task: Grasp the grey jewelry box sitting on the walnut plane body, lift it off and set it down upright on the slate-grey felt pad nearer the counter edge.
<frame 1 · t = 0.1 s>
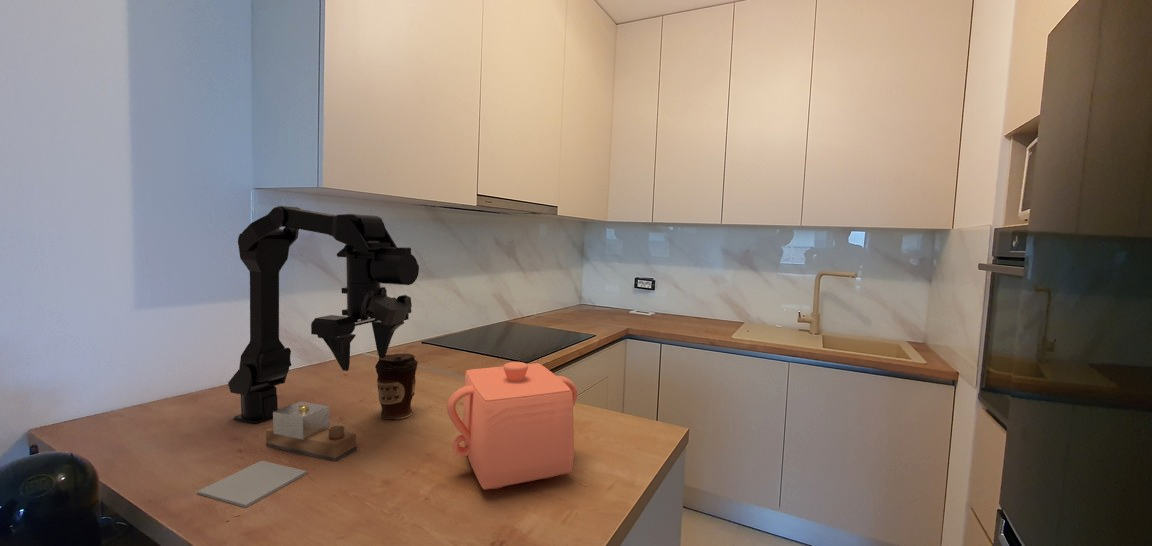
hand: (364, 363, 87), 15 cm above the worktop, fingers open, 9 cm apart
teapot: (509, 457, 82), on the worktop
plane body: (311, 447, 83), on the worktop
grey jewelry box: (302, 430, 84), point 3 cm above the worktop, touching plane body
coffee cup: (396, 416, 99), on the worktop
felt pad: (254, 483, 71), on the worktop
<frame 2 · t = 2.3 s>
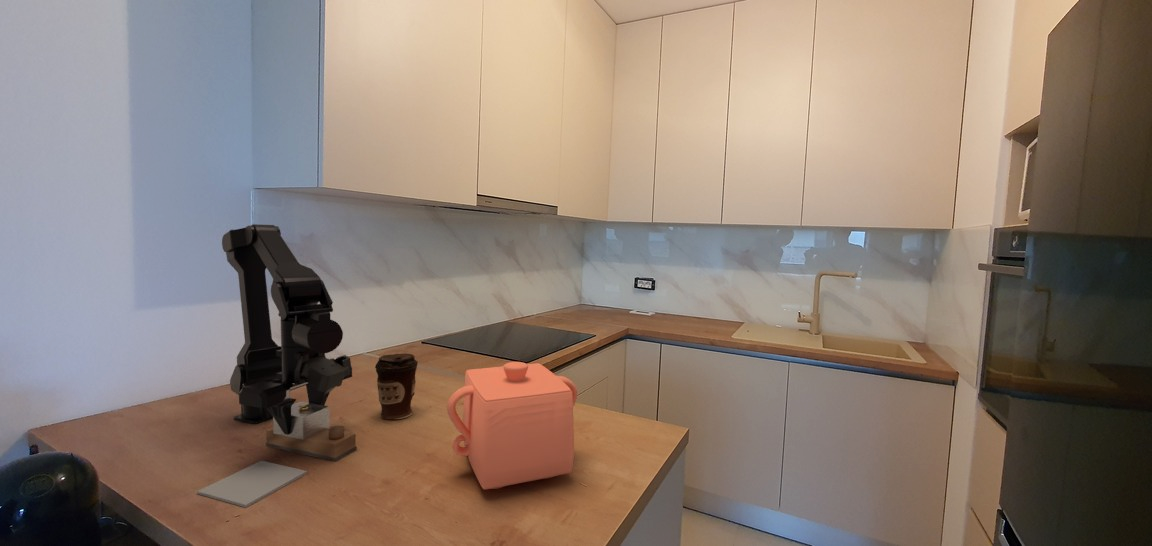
hand: (302, 427, 84), 4 cm above the worktop, fingers closed on grey jewelry box, 6 cm apart
grey jewelry box: (302, 430, 84), point 3 cm above the worktop, touching gripper, plane body
everything else where it was.
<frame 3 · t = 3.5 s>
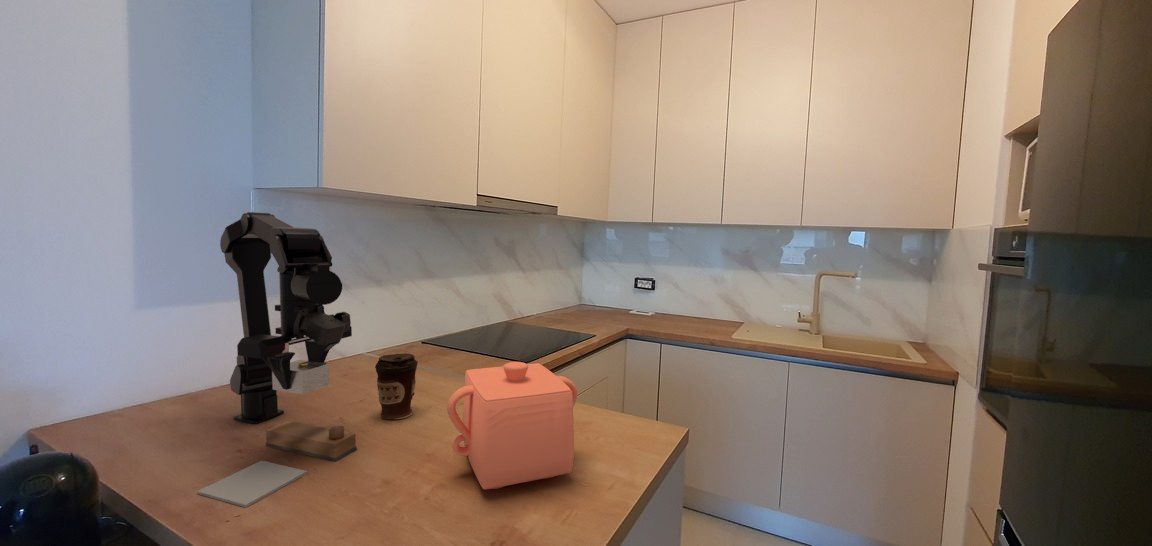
hand: (301, 384, 83), 12 cm above the worktop, fingers closed on grey jewelry box, 6 cm apart
grey jewelry box: (301, 387, 83), point 11 cm above the worktop, touching gripper
everything else where it was.
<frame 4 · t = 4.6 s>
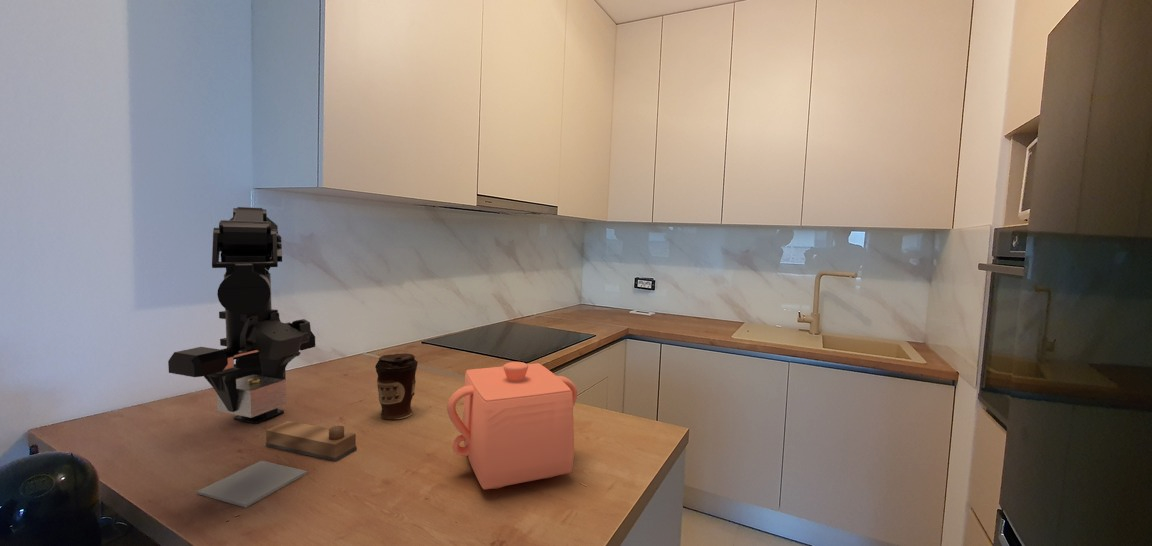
hand: (252, 404, 70), 13 cm above the worktop, fingers closed on grey jewelry box, 6 cm apart
grey jewelry box: (252, 407, 70), point 12 cm above the worktop, touching gripper
everything else where it was.
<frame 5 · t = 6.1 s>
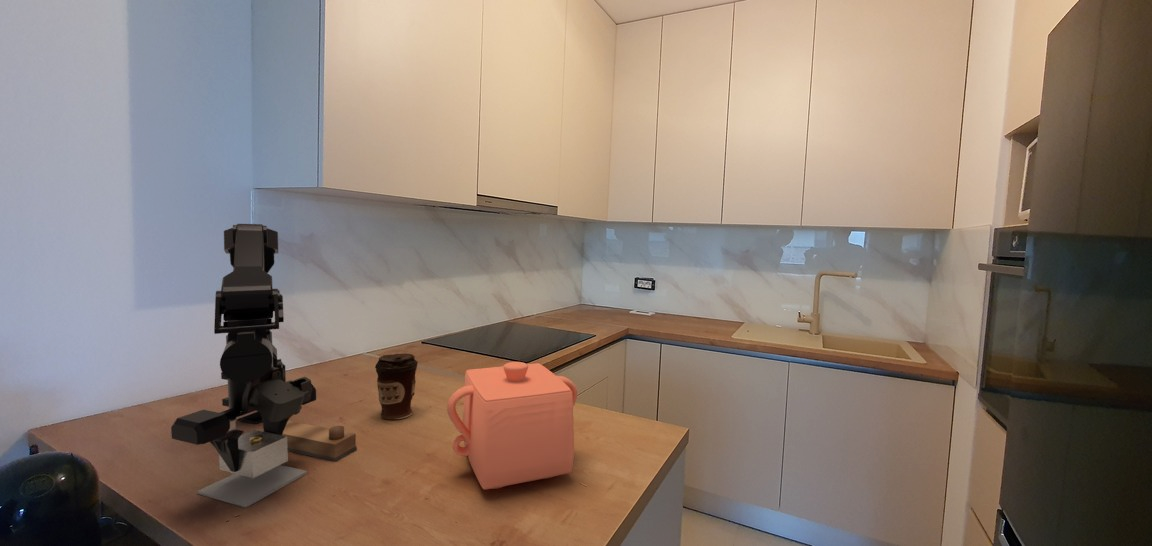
hand: (253, 462, 71), 3 cm above the worktop, fingers closed on grey jewelry box, 6 cm apart
grey jewelry box: (254, 465, 71), point 3 cm above the worktop, touching gripper
everything else where it was.
when the fingers open (3 cm above the worktop, at t = 7.2 s): grey jewelry box drops 2 cm, resting on felt pad.
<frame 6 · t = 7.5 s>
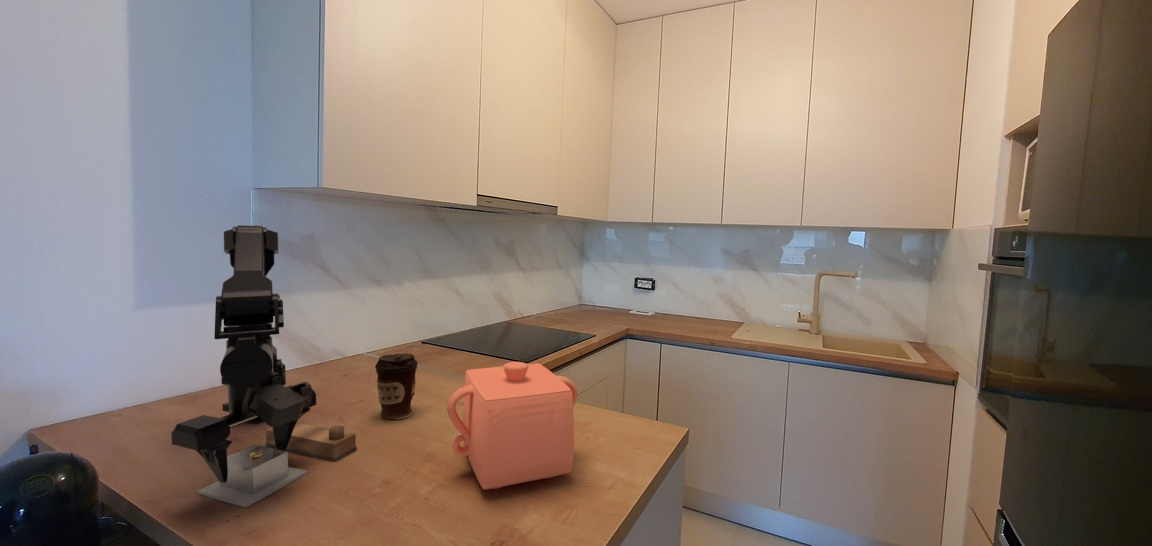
hand: (254, 467, 71), 3 cm above the worktop, fingers open, 9 cm apart
grey jewelry box: (254, 480, 71), resting on felt pad
everything else where it was.
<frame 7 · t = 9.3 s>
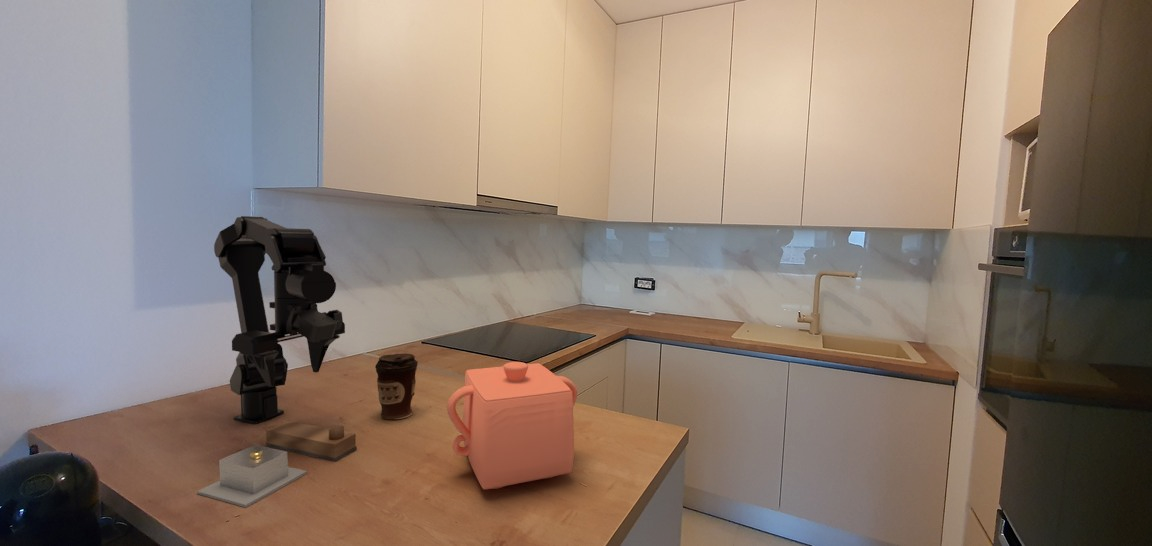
hand: (294, 378, 86), 12 cm above the worktop, fingers open, 9 cm apart
nothing on the worktop moved.
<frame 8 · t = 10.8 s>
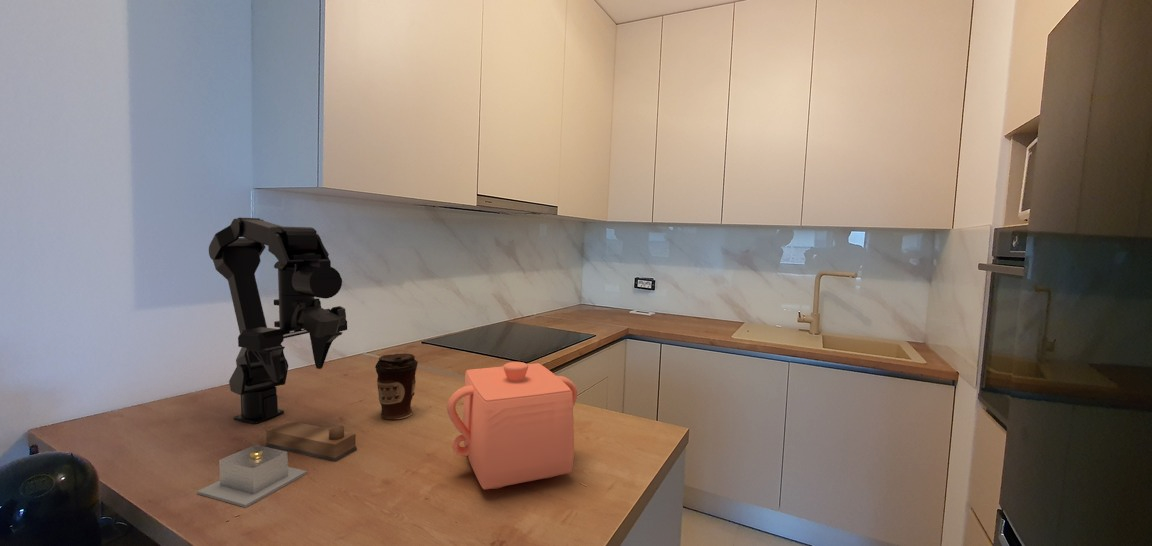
hand: (298, 375, 87), 12 cm above the worktop, fingers open, 9 cm apart
nothing on the worktop moved.
at the end: grey jewelry box inside the target area on the felt pad (0.0 cm from its centre), point 0.4 cm above the felt pad's base; grey jewelry box tilted 0°; grey jewelry box touching felt pad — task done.
